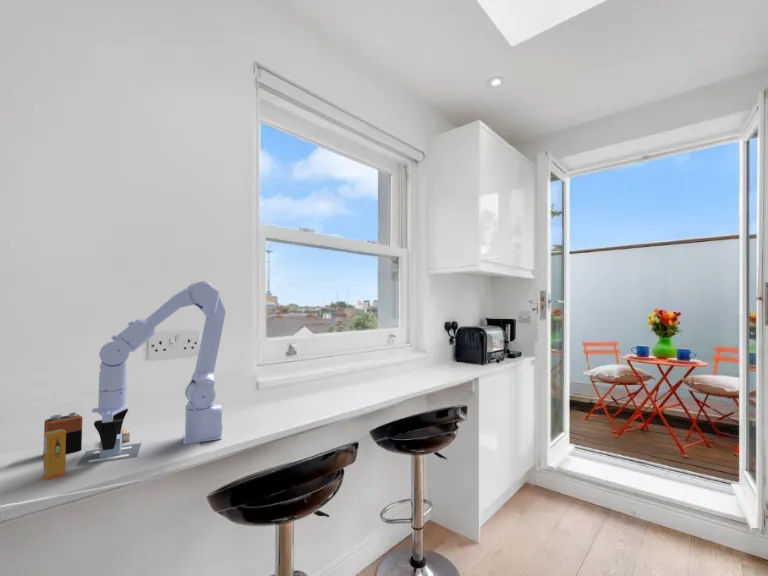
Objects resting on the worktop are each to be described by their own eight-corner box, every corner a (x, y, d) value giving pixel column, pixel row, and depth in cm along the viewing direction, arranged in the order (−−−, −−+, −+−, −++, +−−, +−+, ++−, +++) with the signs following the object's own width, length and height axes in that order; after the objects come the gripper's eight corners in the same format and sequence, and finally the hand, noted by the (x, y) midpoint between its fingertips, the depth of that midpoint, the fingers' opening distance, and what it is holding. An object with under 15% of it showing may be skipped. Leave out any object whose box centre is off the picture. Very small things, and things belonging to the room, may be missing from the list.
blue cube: (121, 449, 98) (121, 433, 98) (119, 454, 94) (120, 438, 95) (102, 452, 96) (102, 436, 96) (99, 458, 92) (100, 441, 93)
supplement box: (61, 472, 85) (63, 427, 86) (65, 477, 83) (67, 430, 84) (42, 478, 83) (43, 431, 83) (45, 482, 81) (47, 434, 81)
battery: (42, 456, 95) (44, 415, 95) (76, 448, 100) (78, 409, 101) (47, 460, 92) (48, 419, 93) (82, 452, 97) (83, 412, 98)
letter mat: (141, 444, 103) (141, 442, 103) (137, 458, 93) (137, 456, 93) (86, 452, 97) (86, 450, 97) (75, 468, 87) (75, 466, 87)
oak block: (128, 438, 108) (128, 428, 108) (129, 443, 104) (129, 432, 104) (106, 442, 105) (106, 431, 105) (106, 448, 101) (107, 436, 101)
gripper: (98, 385, 100) (97, 437, 100) (86, 397, 88) (84, 457, 87) (130, 383, 104) (129, 433, 103) (123, 393, 91) (121, 451, 90)
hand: (111, 444), depth 95 cm, fingers open, 7 cm apart
